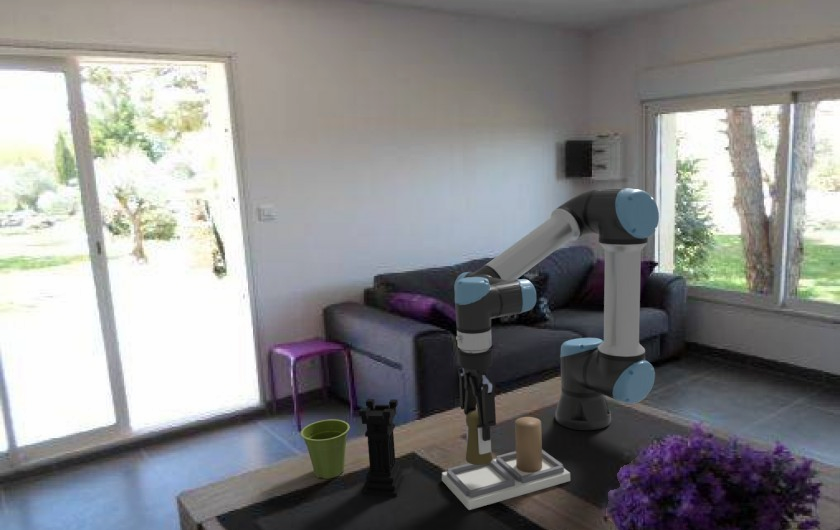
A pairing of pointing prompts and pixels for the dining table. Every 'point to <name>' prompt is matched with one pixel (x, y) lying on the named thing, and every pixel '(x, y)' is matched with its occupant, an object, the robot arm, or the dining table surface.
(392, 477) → the chess piece
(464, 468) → the pin board
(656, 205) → the robot arm
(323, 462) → the plant pot
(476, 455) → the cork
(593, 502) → the dining table surface
